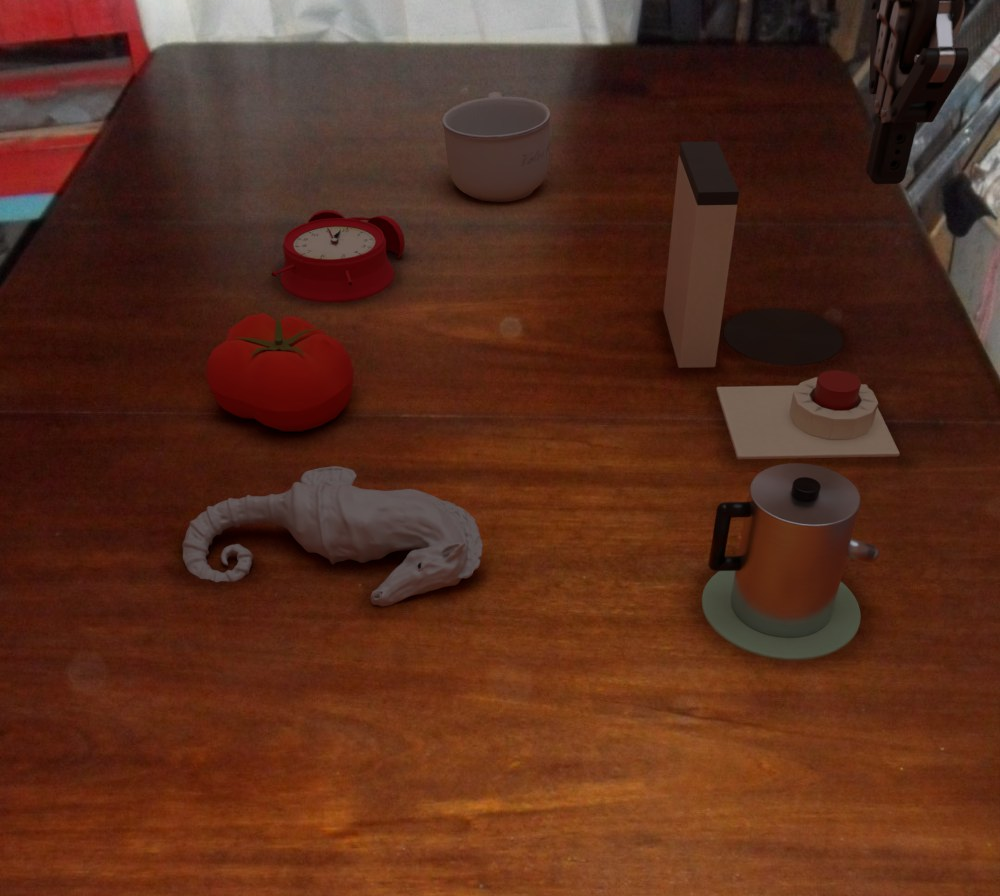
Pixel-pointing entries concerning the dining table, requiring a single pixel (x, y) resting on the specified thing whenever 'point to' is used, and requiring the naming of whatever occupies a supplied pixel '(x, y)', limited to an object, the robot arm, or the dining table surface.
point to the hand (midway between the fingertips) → (883, 179)
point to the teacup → (498, 146)
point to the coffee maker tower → (699, 252)
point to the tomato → (281, 373)
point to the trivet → (774, 647)
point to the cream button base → (802, 424)
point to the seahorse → (350, 531)
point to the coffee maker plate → (783, 337)
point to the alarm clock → (340, 257)
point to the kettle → (790, 547)
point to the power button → (837, 390)
